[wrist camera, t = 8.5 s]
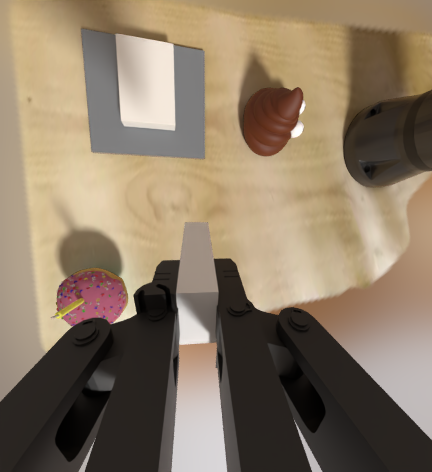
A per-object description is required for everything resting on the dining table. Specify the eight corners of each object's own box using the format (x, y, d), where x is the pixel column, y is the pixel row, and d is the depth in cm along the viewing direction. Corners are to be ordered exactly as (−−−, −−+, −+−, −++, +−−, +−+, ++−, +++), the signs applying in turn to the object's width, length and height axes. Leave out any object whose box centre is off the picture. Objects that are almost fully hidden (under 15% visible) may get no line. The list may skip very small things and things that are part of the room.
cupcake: (60, 280, 30) (-9, 328, 18) (111, 249, 31) (75, 275, 19) (98, 321, 32) (57, 387, 20) (144, 291, 33) (130, 337, 21)
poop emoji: (241, 90, 32) (270, 44, 23) (289, 97, 34) (333, 58, 25) (239, 156, 33) (265, 137, 24) (285, 159, 35) (325, 143, 26)
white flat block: (175, 131, 30) (173, 55, 28) (175, 125, 28) (173, 43, 26) (124, 126, 28) (119, 46, 27) (120, 120, 26) (115, 33, 24)
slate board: (203, 53, 29) (204, 50, 29) (204, 159, 32) (204, 158, 31) (83, 32, 26) (81, 28, 25) (93, 152, 28) (91, 151, 28)
